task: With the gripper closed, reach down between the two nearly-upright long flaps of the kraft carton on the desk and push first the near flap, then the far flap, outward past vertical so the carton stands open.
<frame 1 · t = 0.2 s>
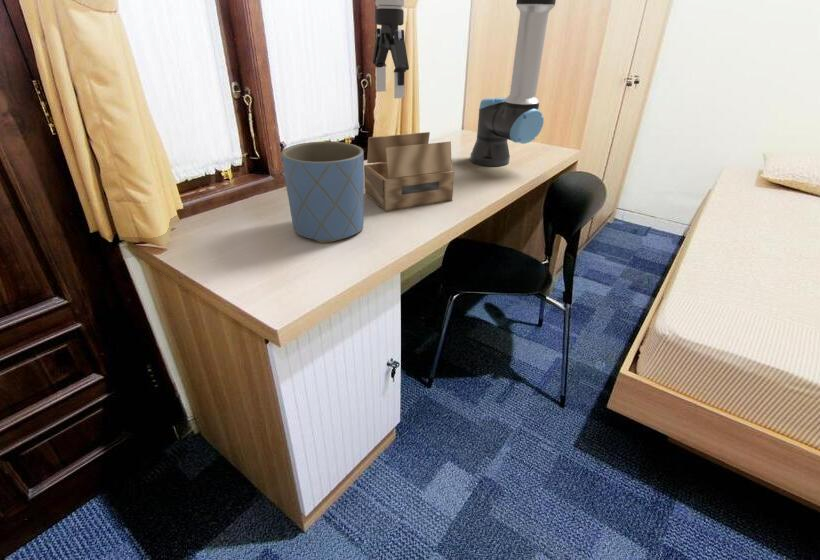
hand: (389, 94, 125), 28 cm above the table, fingers open, 13 cm apart
smoothie: (339, 182, 145), on the table
planter: (329, 229, 112), on the table
far flap: (398, 147, 132), point 13 cm above the table, hinge at 78.0°
near flap: (420, 159, 121), point 13 cm above the table, hinge at 78.0°
carton: (408, 197, 133), on the table
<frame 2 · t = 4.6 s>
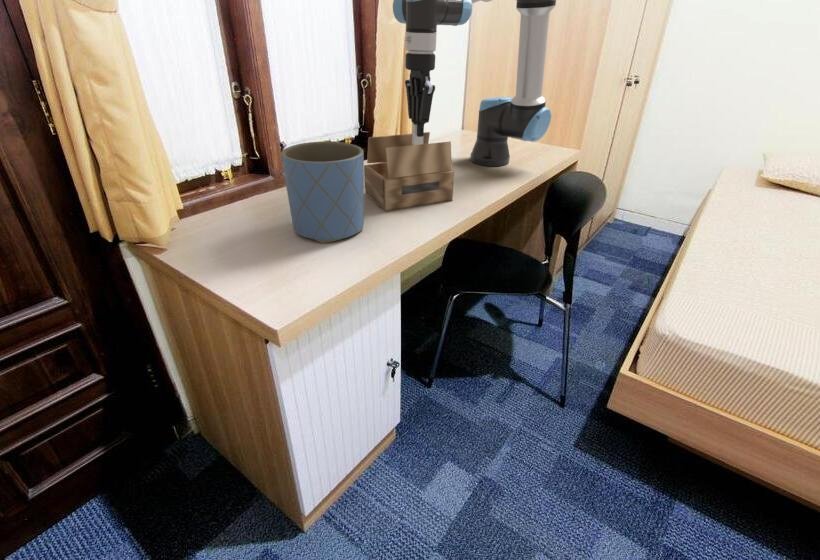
hand: (417, 147, 121), 16 cm above the table, fingers closed
near flap: (420, 159, 121), point 13 cm above the table, hinge at 78.1°, touching gripper
everything else where it was.
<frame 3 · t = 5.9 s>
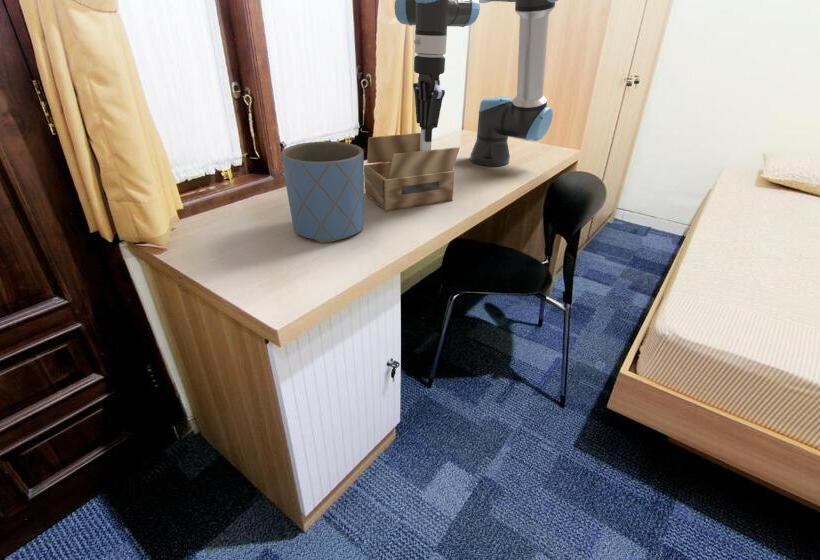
hand: (425, 153, 117), 16 cm above the table, fingers closed
near flap: (424, 162, 119), point 13 cm above the table, hinge at 113.5°, touching gripper
everything else where it was.
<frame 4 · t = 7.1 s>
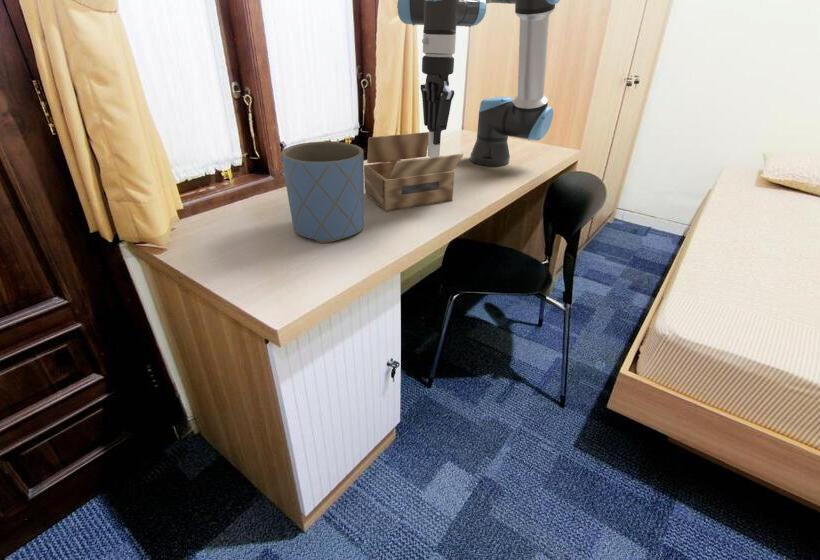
hand: (433, 156, 114), 16 cm above the table, fingers closed
near flap: (426, 166, 119), point 12 cm above the table, hinge at 131.3°
everything else where it was.
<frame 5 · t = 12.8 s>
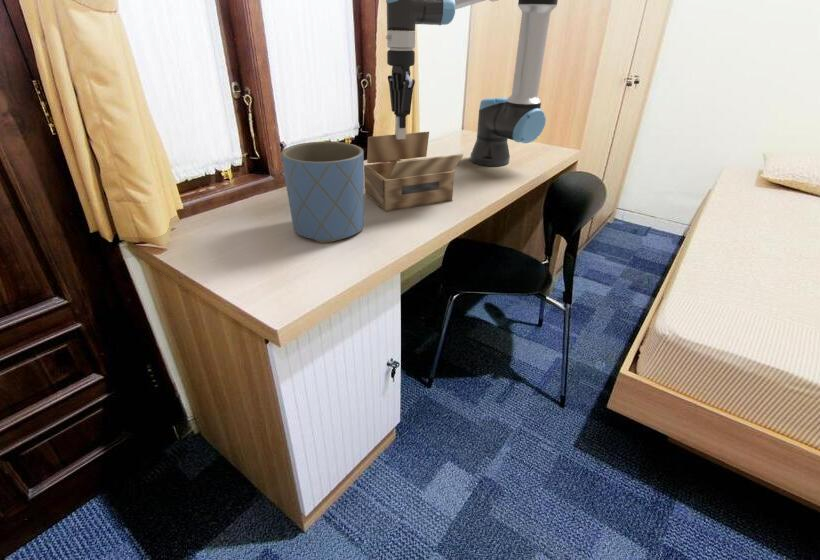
hand: (400, 138, 130), 16 cm above the table, fingers closed
far flap: (398, 147, 132), point 13 cm above the table, hinge at 80.7°, touching gripper
near flap: (426, 166, 119), point 12 cm above the table, hinge at 131.7°
everything else where it was.
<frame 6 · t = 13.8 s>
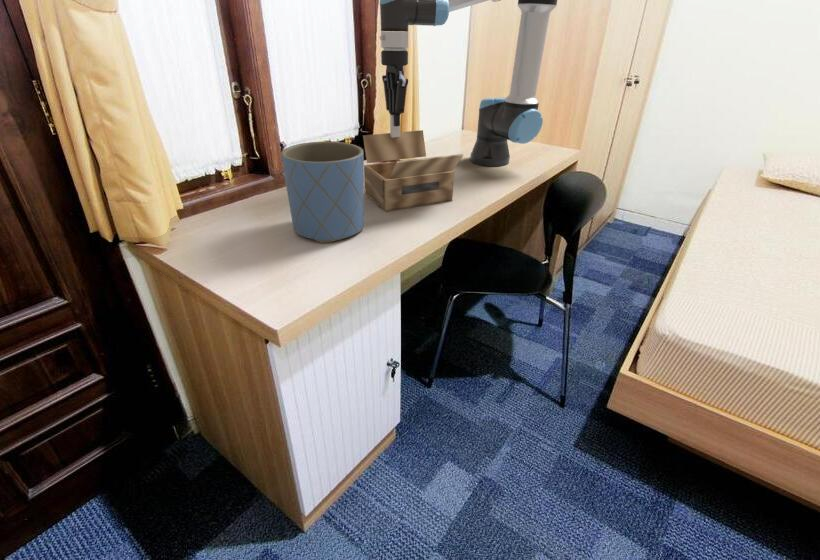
hand: (395, 136, 133), 16 cm above the table, fingers closed
far flap: (395, 146, 134), point 13 cm above the table, hinge at 110.7°, touching gripper
everything else where it was.
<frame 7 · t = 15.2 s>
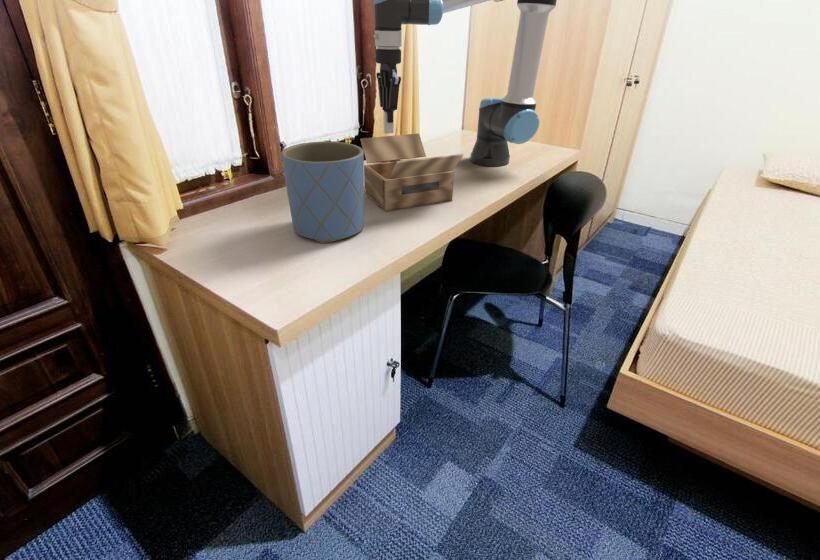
hand: (388, 132, 136), 16 cm above the table, fingers closed
far flap: (393, 147, 135), point 12 cm above the table, hinge at 131.5°
everything else where it was.
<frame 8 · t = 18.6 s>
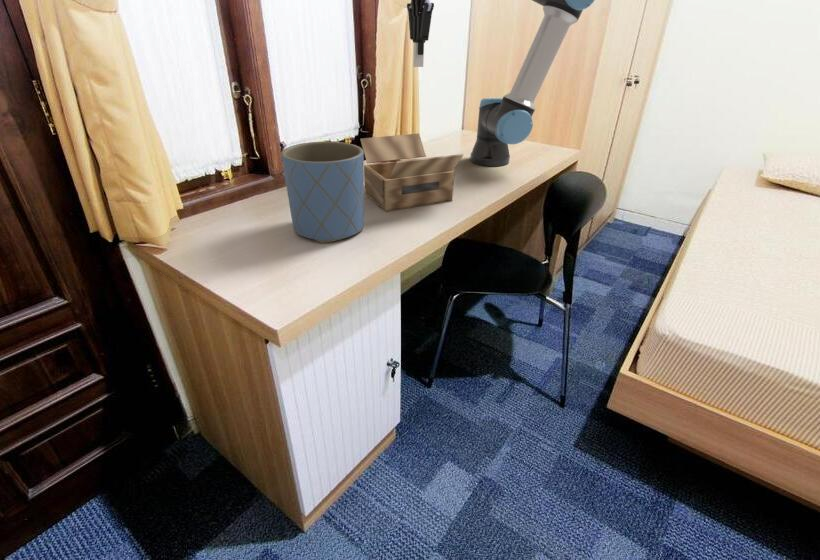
hand: (418, 66, 135), 34 cm above the table, fingers closed
nothing on the table moved.
at the end: near flap at +132° (first picture: +78°); far flap at +132° (first picture: +78°) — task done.
